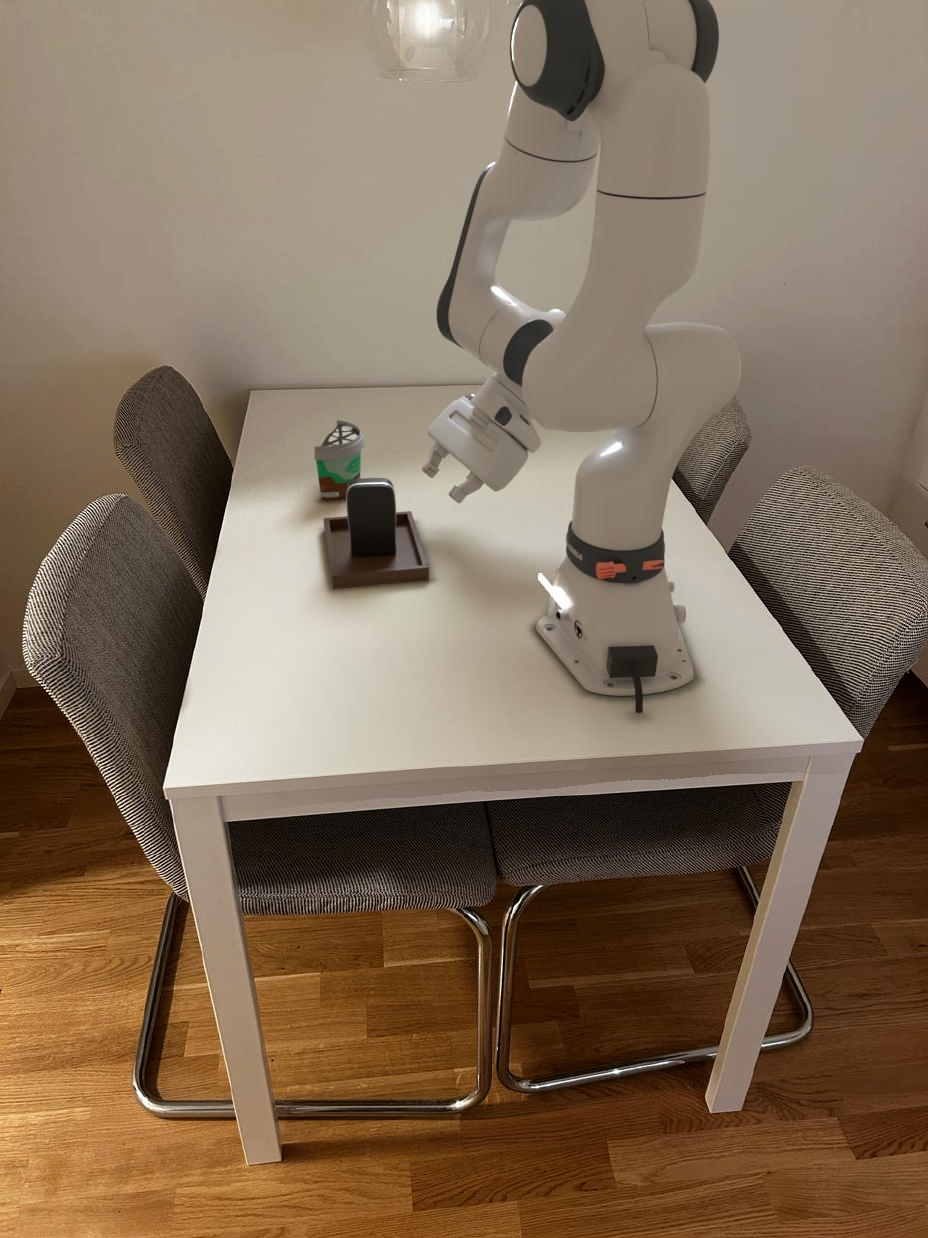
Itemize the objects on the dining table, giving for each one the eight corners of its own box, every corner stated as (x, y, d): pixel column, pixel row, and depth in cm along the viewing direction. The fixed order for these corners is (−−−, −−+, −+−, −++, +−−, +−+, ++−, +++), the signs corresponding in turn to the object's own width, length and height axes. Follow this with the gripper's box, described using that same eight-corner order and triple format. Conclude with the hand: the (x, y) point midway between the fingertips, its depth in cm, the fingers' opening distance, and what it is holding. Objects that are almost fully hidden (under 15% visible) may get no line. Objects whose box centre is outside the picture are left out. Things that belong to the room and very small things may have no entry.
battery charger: (396, 543, 141) (394, 473, 135) (397, 556, 138) (395, 485, 132) (350, 545, 140) (345, 475, 134) (349, 557, 137) (345, 486, 131)
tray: (429, 580, 133) (429, 567, 132) (333, 589, 131) (331, 576, 130) (411, 522, 148) (411, 510, 146) (324, 529, 145) (323, 517, 144)
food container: (354, 508, 151) (351, 450, 146) (318, 504, 152) (313, 447, 147) (376, 476, 162) (373, 421, 156) (341, 473, 163) (337, 418, 157)
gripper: (455, 378, 142) (397, 449, 144) (520, 424, 127) (455, 503, 129) (481, 401, 146) (424, 470, 148) (547, 449, 131) (483, 525, 133)
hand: (439, 486), depth 138 cm, fingers open, 8 cm apart
